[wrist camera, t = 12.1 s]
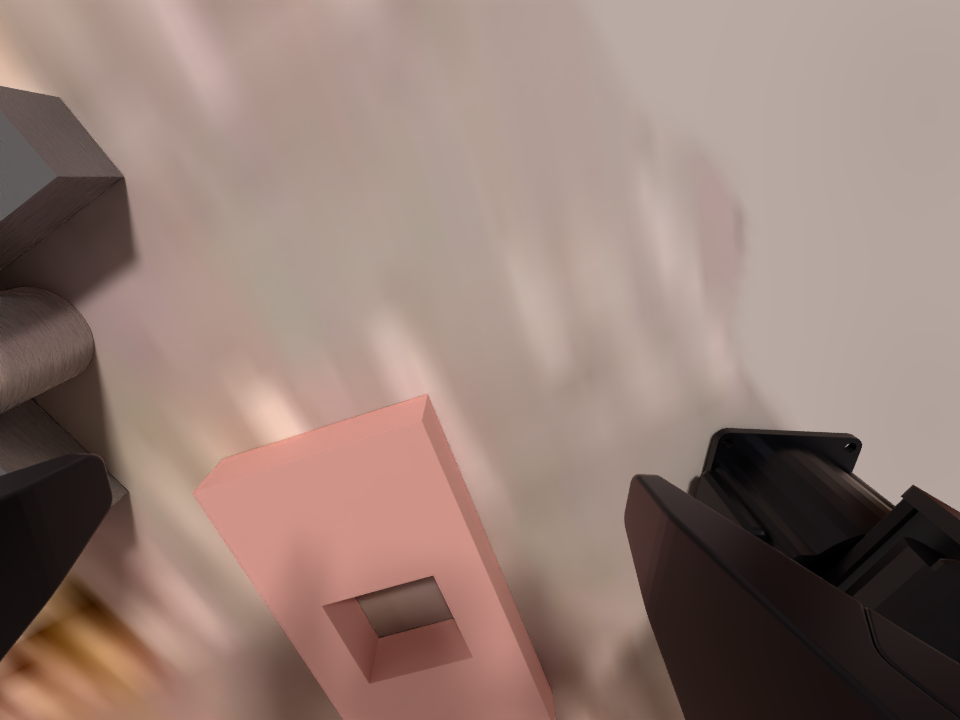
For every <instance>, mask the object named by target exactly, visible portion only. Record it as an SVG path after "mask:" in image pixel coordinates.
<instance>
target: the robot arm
mask: <svg viewBox="0 0 960 720" xmlns="http://www.w3.org/2000/svg"><path fill="white" fill-rule="evenodd" d="M729 437H730V440H729V441H728V442H726V443H723V442H724V440H725V439H727V438H729ZM849 443H850V444H849ZM847 444H849V445H848V446H847V447H845V446H846V445H847ZM861 448H862V443H861V441H860V440H859V439H857V438H856V437H855V436H853V435H852V434H848V433H827V432H826V433H825V432H805V431H782V430H760V429H738V428H724V429H721V430H719V431H718V432H717V433H716V434H715V436H714V438H713V442H712V446H711V450H710V454H709V458H708V461H707V465H706V469H705V472H704V473H703V474H702V475H701V479H700V483H699V487H698V490H697V494H696V498H694V497H692V496H690V495H689V494H687V493H686V492H684V491H682V490H681V489H679V488H678V487H676V486H674V485H673V484H671V483H670V482H668V481H667V480H665V479H663V478H662V477H660V476H658V475H645V474H637V475H635V476H634V477H633V478H632V480H631V484H630V489H629V494H628V499H627V504H626V509H625V516H624V521H625V528H626V533H627V537H628V541H629V545H630V549H631V553H632V557H633V561H634V565H635V569H636V573H637V577H638V581H639V585H640V589H641V594H642V597H643V601H644V605H645V609H646V612H647V615H648V618H649V621H650V624H651V627H652V629H653V632H654V635H655V638H656V640H657V643H658V646H659V649H660V651H661V654H662V657H663V659H664V662H665V665H666V668H667V670H668V673H669V676H670V679H671V681H672V684H673V687H674V690H675V692H676V695H677V698H678V701H679V703H680V706H681V709H682V712H683V714H684V717H685V720H960V512H959V511H957V510H955V509H954V508H951V507H950V506H948V505H947V504H945V503H943V502H942V501H940V500H938V499H936V498H935V497H933V496H931V495H929V494H928V493H926V492H925V491H923V490H921V489H919V488H918V487H916V486H914V485H912V486H911V487H910V488H909V489H908V490H907V491H906V492H905V493H904V494H903V495H902V496H901V497H903V499H902V500H901V502H900V503H898V504H897V505H896V506H894V505H893V504H892V503H890V502H889V501H888V500H887V499H885V498H884V497H883V496H881V495H880V494H879V493H877V492H876V491H875V490H874V489H873V488H871V487H870V486H869V485H867V484H866V483H865V482H863V481H862V480H861V479H860V478H858V477H857V476H856V475H854V474H853V473H852V471H853V469H854V466H855V463H856V461H857V458H858V456H859V453H860V451H861ZM112 501H113V494H112V490H111V486H110V482H109V478H108V474H107V471H106V467H105V463H104V460H103V459H102V458H101V457H100V456H99V455H97V454H86V453H70V454H66V455H63V456H60V457H57V458H54V459H51V460H47V461H44V462H41V463H38V464H35V465H32V466H29V467H26V468H23V469H20V470H16V471H13V472H10V473H7V474H4V475H1V476H0V662H1V660H2V659H3V658H4V657H5V655H6V654H7V653H8V652H9V650H10V649H11V648H12V647H13V645H14V644H15V643H16V641H17V640H18V639H19V638H20V636H21V635H22V634H23V633H24V631H25V630H26V629H27V628H28V626H29V625H30V624H31V623H32V621H33V620H34V619H35V618H36V616H37V615H38V614H39V613H40V611H41V610H42V609H43V607H44V606H45V605H46V603H47V602H48V601H49V599H50V598H51V597H52V596H53V594H54V593H55V591H56V590H57V588H58V587H59V586H60V584H61V583H62V581H63V580H64V578H65V577H66V575H67V574H68V572H69V571H70V569H71V568H72V566H73V565H74V563H75V562H76V560H77V559H78V557H79V556H80V554H81V553H82V551H83V550H84V548H85V547H86V545H87V544H88V542H89V541H90V539H91V537H92V536H93V534H94V533H95V531H96V530H97V528H98V527H99V525H100V524H101V522H102V521H103V519H104V518H105V516H106V515H107V513H108V512H109V510H110V508H111V505H112Z"/></svg>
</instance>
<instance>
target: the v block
mask: <svg viewBox="0 0 960 720" xmlns="http://www.w3.org/2000/svg"><path fill="white" fill-rule="evenodd" d="M123 177H124V176H123V175H122V174H121V173H120V171H119V170H118V169H117V168H116V166H115V165H114V164H113V163H112V162H111V160H110V159H109V158H108V157H107V155H106V154H105V153H104V152H103V151H102V149H101V148H100V147H99V146H98V144H97V143H96V142H95V141H94V139H93V138H92V137H91V136H90V135H89V133H88V132H87V131H86V130H85V128H84V127H83V126H82V125H81V124H80V122H79V121H78V120H77V119H76V117H75V116H74V115H73V114H72V113H71V111H70V110H69V109H68V108H67V106H66V105H65V104H64V103H63V101H62V100H61V99H60V98H59V97H54V96H49V95H44V94H39V93H34V92H29V91H23V90H18V89H13V88H8V87H3V86H0V271H1V270H2V269H3V268H5V267H6V266H7V265H9V264H10V263H11V262H13V261H14V260H15V259H17V258H18V257H19V256H20V255H22V254H23V253H24V252H26V251H27V250H28V249H30V248H31V247H32V246H34V245H35V244H36V243H38V242H39V241H40V240H41V239H43V238H44V237H45V236H47V235H48V234H49V233H51V232H52V231H53V230H55V229H56V228H57V227H59V226H60V225H61V224H62V223H64V222H65V221H66V220H68V219H69V218H70V217H72V216H73V215H74V214H76V213H77V212H78V211H80V210H81V209H82V208H83V207H85V206H86V205H87V204H89V203H90V202H91V201H93V200H94V199H95V198H97V197H98V196H99V195H100V194H102V193H103V192H104V191H106V190H107V189H108V188H110V187H111V186H112V185H114V184H115V183H116V182H118V181H119V180H120V179H121V178H123ZM70 453H86V454H89V453H88V452H87V451H85V450H84V449H83V448H82V447H81V446H80V445H79V444H78V443H77V442H76V441H75V440H74V439H73V438H72V437H71V436H70V435H69V434H68V433H67V432H66V431H65V430H64V429H62V428H61V427H60V426H59V425H58V424H57V423H56V422H55V421H54V420H53V419H52V418H51V417H50V416H49V415H48V414H47V413H46V412H45V411H44V410H43V409H42V408H41V407H39V406H38V405H37V404H36V403H35V402H34V401H33V400H32V399H29V400H27V401H25V402H23V403H21V404H19V405H17V406H15V407H13V408H11V409H9V410H7V411H5V412H3V413H1V414H0V476H1V475H4V474H7V473H10V472H13V471H16V470H20V469H23V468H26V467H29V466H32V465H35V464H38V463H41V462H44V461H47V460H51V459H54V458H57V457H60V456H63V455H66V454H70ZM107 474H108V478H109V482H110V486H111V490H112V494H113V501H112V505H111V507H112V506H113V505H114V504H115V503H116V502H117V501H119V500H120V499H121V498H122V497H123V496H124V495H125V494H126V493H127V492H128V491H127V490H126V489H125V488H124V487H123V486H122V485H121V484H120V483H119V482H118V481H117V480H116V479H115V478H114V477H113V476H112V475H111V474H109V473H108V472H107Z"/></svg>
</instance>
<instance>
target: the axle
mask: <svg viewBox="0 0 960 720" xmlns="http://www.w3.org/2000/svg"><path fill="white" fill-rule="evenodd" d="M93 352H94V342H93V337H92V333H91V331H90V328H89V326H88V324H87V323H86V321H85V319H84V318H83V316H82V315H81V314H80V313H79V312H78V310H77V309H76V308H74V307H73V306H72V305H71V304H70V303H69V302H67V301H66V300H65V299H63V298H62V297H60V296H58V295H56V294H54V293H52V292H50V291H47V290H44V289H40V288H35V287H18V288H14V289H10V290H5V291H1V292H0V414H1V413H3V412H5V411H7V410H9V409H11V408H13V407H15V406H17V405H19V404H21V403H23V402H25V401H27V400H29V399H31V398H33V397H35V396H37V395H39V394H41V393H43V392H45V391H47V390H49V389H51V388H53V387H55V386H57V385H59V384H61V383H63V382H65V381H67V380H69V379H71V378H73V377H75V376H77V375H79V374H80V373H82V372H83V371H84V370H85V369H86V368H87V367H88V366H89V364H90V362H91V360H92V357H93Z"/></svg>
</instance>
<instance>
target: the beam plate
mask: <svg viewBox="0 0 960 720" xmlns="http://www.w3.org/2000/svg"><path fill="white" fill-rule="evenodd" d="M192 494H193V495H194V497H195V498H196V500H197V501H198V503H199V504H200V506H201V507H202V509H203V510H204V512H205V513H206V515H207V516H208V518H209V519H210V521H211V522H212V524H213V525H214V527H215V528H216V530H217V531H218V533H219V534H220V536H221V537H222V539H223V540H224V542H225V543H226V545H227V546H228V548H229V549H230V551H231V552H232V554H233V555H234V557H235V558H236V560H237V561H238V563H239V564H240V566H241V567H242V569H243V570H244V572H245V573H246V575H247V576H248V578H249V579H250V581H251V582H252V584H253V585H254V587H255V588H256V590H257V591H258V593H259V594H260V596H261V597H262V599H263V600H264V602H265V603H266V605H267V606H268V608H269V609H270V611H271V612H272V614H273V615H274V617H275V618H276V620H277V621H278V623H279V624H280V626H281V627H282V629H283V630H284V632H285V633H286V635H287V636H288V638H289V639H290V641H291V642H292V644H293V645H294V647H295V648H296V650H297V651H298V653H299V654H300V656H301V657H302V659H303V660H304V662H305V663H306V665H307V666H308V668H309V669H310V671H311V672H312V674H313V675H314V677H315V678H316V680H317V681H318V683H319V684H320V686H321V687H322V689H323V690H324V692H325V693H326V695H327V696H328V698H329V699H330V701H331V702H332V704H333V705H334V707H335V708H336V710H337V711H338V713H339V714H340V716H341V717H342V719H343V720H556V714H555V707H554V701H553V694H552V691H551V688H550V686H549V684H548V681H547V679H546V676H545V674H544V672H543V669H542V667H541V664H540V662H539V660H538V657H537V655H536V652H535V650H534V648H533V645H532V643H531V640H530V638H529V636H528V633H527V631H526V629H525V626H524V624H523V621H522V619H521V617H520V614H519V612H518V609H517V607H516V605H515V602H514V600H513V597H512V595H511V593H510V590H509V588H508V585H507V583H506V581H505V578H504V576H503V573H502V571H501V569H500V566H499V564H498V561H497V559H496V557H495V554H494V552H493V549H492V547H491V545H490V542H489V540H488V537H487V535H486V533H485V530H484V528H483V525H482V523H481V521H480V518H479V516H478V513H477V511H476V509H475V506H474V504H473V501H472V499H471V497H470V494H469V492H468V489H467V487H466V485H465V482H464V480H463V478H462V475H461V473H460V470H459V468H458V466H457V463H456V461H455V458H454V456H453V454H452V451H451V449H450V446H449V444H448V442H447V439H446V437H445V434H444V432H443V430H442V427H441V425H440V422H439V420H438V418H437V415H436V413H435V410H434V408H433V406H432V403H431V401H430V398H429V396H428V394H426V395H423V396H420V397H417V398H413V399H410V400H407V401H404V402H401V403H398V404H395V405H391V406H388V407H385V408H382V409H379V410H376V411H373V412H369V413H366V414H363V415H360V416H357V417H354V418H351V419H347V420H344V421H341V422H338V423H335V424H332V425H329V426H325V427H322V428H319V429H316V430H313V431H310V432H306V433H303V434H300V435H297V436H294V437H291V438H288V439H284V440H281V441H278V442H275V443H272V444H269V445H266V446H262V447H259V448H256V449H253V450H250V451H247V452H244V453H240V454H237V455H234V456H231V457H228V458H225V459H222V460H221V461H220V462H219V463H218V465H217V466H216V467H215V468H214V469H213V470H212V471H211V472H210V474H209V475H208V476H207V477H206V478H205V479H204V480H203V481H202V483H201V484H200V485H199V486H198V487H197V488H196V489H195V490H194V491H193V493H192ZM432 575H433V576H434V578H435V580H436V582H437V584H438V586H439V588H440V590H441V593H442V595H443V597H444V599H445V601H446V603H447V605H448V607H449V609H450V611H451V613H452V615H453V617H454V619H450V620H446V621H442V622H438V623H435V624H431V625H427V626H423V627H419V628H416V629H412V630H408V631H404V632H401V633H397V634H393V635H389V636H385V637H382V638H378V636H377V635H376V633H375V631H374V629H373V628H372V626H371V624H370V622H369V621H368V619H367V617H366V615H365V614H364V612H363V610H362V608H361V607H360V605H359V603H358V601H357V600H356V598H355V597H356V596H360V595H364V594H367V593H371V592H374V591H378V590H382V589H385V588H389V587H393V586H396V585H400V584H403V583H407V582H411V581H414V580H418V579H422V578H425V577H429V576H432Z"/></svg>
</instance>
